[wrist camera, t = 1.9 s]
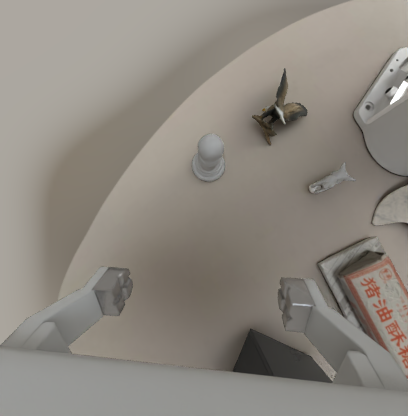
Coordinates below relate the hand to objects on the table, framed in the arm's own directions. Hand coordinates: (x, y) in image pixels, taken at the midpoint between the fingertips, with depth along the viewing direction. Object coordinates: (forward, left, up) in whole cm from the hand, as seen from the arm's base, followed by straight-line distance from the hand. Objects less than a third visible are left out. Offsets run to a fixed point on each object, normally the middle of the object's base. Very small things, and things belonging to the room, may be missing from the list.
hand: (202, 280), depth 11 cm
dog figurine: (-17, +14, -21) cm, 30 cm away
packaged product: (-3, +28, -21) cm, 35 cm away
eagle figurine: (-20, +1, -18) cm, 27 cm away
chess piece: (-12, -4, -21) cm, 24 cm away
